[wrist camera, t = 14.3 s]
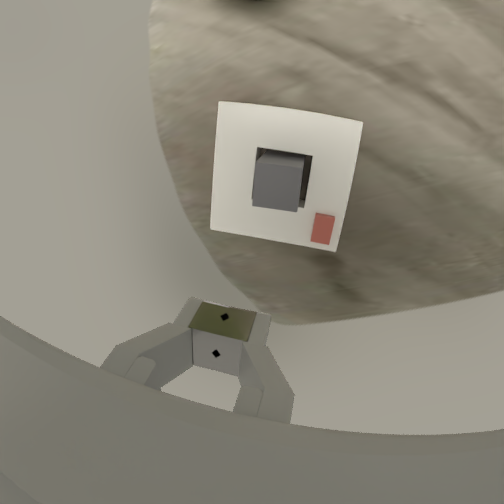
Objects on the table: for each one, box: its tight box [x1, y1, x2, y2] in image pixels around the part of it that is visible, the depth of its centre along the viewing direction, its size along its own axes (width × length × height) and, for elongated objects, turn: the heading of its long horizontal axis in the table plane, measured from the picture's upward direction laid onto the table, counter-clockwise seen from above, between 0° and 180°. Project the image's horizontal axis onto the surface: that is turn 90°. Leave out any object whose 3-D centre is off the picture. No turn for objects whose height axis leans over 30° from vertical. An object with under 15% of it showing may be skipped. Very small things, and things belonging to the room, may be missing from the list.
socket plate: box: [210, 101, 363, 252], centre depth 31 cm, size 14×14×3 cm
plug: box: [252, 150, 305, 212], centre depth 29 cm, size 4×4×7 cm
